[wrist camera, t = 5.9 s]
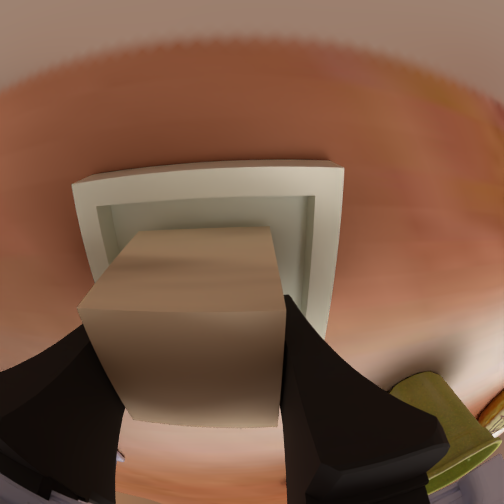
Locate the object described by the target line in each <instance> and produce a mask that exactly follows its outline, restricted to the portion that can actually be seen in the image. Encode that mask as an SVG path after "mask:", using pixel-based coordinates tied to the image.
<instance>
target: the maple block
mask: <svg viewBox="0 0 504 504" xmlns="http://www.w3.org/2000/svg"><path fill="white" fill-rule="evenodd" d="M77 310H78V313H79V315H80V318H81V320H82V323H83V325H84V327H85V330H86V332H87V334H88V337H89V339H90V341H91V343H92V345H93V348H94V350H95V352H96V354H97V356H98V358H99V360H100V362H101V364H102V366H103V368H104V370H105V372H106V374H107V376H108V378H109V380H110V381H111V383H112V385H113V387H114V389H115V390H116V392H117V394H118V396H119V397H120V399H121V401H122V403H123V404H124V406H125V408H126V409H127V411H128V413H129V414H130V416H131V417H132V419H133V420H138V421H145V422H152V423H160V424H169V425H180V426H193V427H214V428H260V427H278V416H279V405H280V394H281V382H282V369H283V355H284V341H285V325H286V306H285V300H284V295H283V290H282V285H281V280H280V275H279V270H278V265H277V260H276V255H275V250H274V245H273V240H272V235H271V230H270V226H260V227H226V228H198V229H174V230H153V231H138V233H137V234H136V235H135V236H134V237H133V238H132V239H131V240H130V242H129V243H128V244H127V245H126V246H125V247H124V249H123V250H122V251H121V252H120V253H119V255H118V256H117V257H116V258H115V259H114V261H113V262H112V263H111V264H110V265H109V267H108V268H107V269H106V270H105V272H104V273H103V274H102V275H101V277H100V278H99V279H98V280H97V282H96V283H95V284H94V285H93V287H92V288H91V289H90V291H89V292H88V293H87V294H86V296H85V297H84V298H83V300H82V301H81V302H80V304H79V305H78V306H77Z"/></svg>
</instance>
